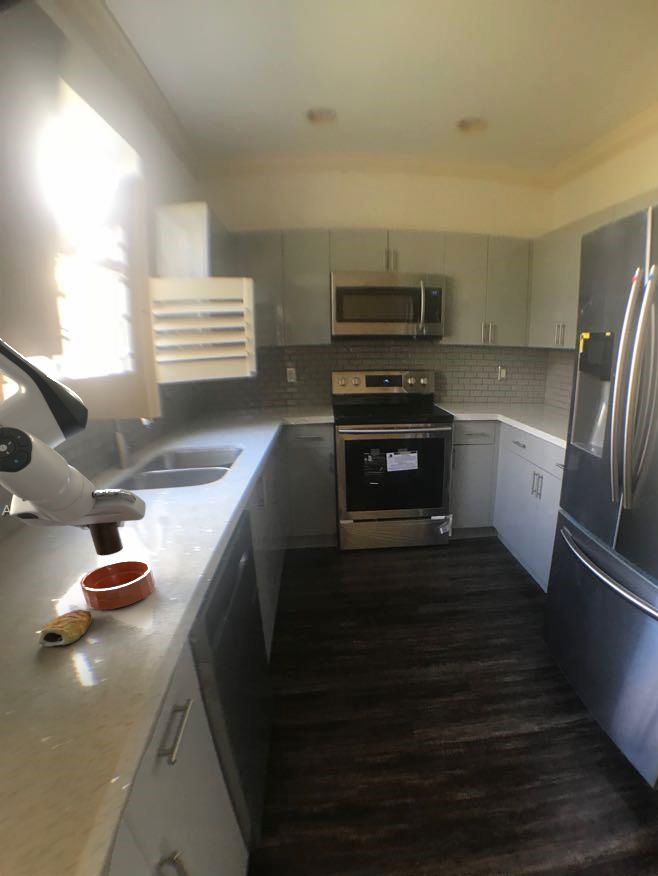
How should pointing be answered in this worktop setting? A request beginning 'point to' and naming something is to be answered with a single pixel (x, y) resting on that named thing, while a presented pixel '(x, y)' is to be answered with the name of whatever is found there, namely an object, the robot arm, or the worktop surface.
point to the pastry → (65, 628)
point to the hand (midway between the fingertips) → (104, 525)
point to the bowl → (118, 584)
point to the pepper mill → (105, 538)
